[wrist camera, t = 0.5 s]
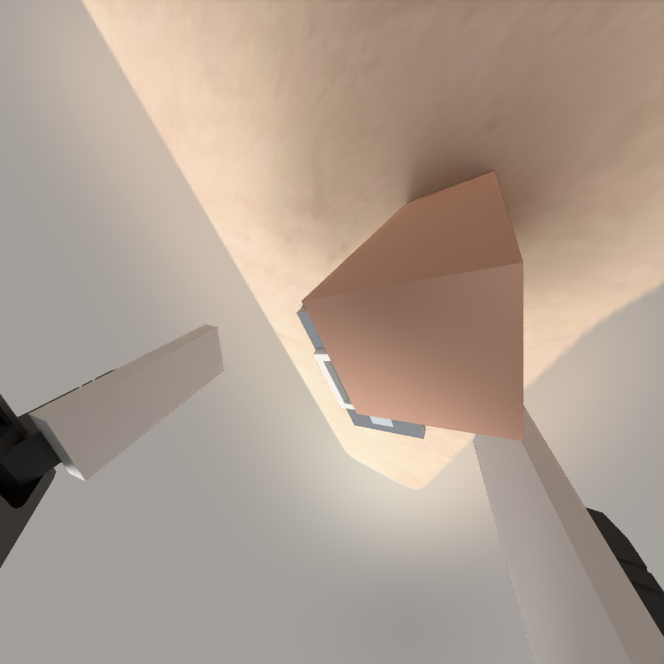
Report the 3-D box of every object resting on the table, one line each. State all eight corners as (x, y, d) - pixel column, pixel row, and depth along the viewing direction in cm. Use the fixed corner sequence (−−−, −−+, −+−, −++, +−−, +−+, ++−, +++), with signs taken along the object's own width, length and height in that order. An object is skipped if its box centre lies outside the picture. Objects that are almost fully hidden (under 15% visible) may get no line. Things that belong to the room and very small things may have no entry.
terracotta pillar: (407, 202, 16) (301, 301, 7) (494, 170, 14) (522, 262, 4) (421, 269, 19) (356, 414, 9) (498, 253, 16) (523, 441, 6)
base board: (302, 307, 27) (291, 317, 26) (383, 294, 21) (376, 306, 20) (357, 418, 36) (352, 430, 35) (425, 430, 30) (422, 446, 29)
